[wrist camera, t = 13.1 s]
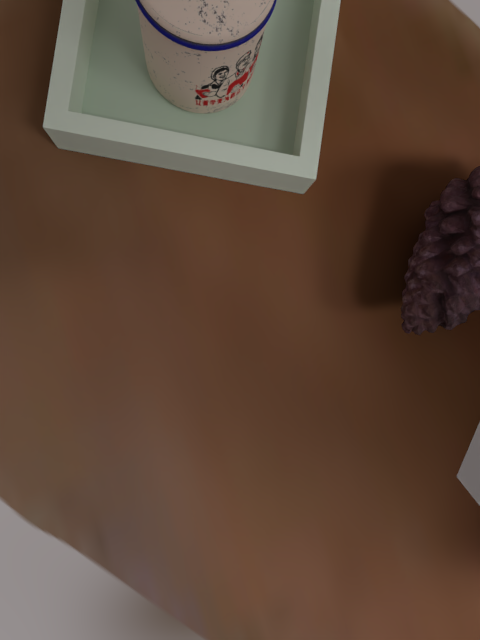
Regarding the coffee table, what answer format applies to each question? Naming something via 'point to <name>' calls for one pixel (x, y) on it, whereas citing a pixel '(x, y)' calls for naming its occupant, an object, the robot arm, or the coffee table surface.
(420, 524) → the coffee table surface
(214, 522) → the coffee table surface
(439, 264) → the pine cone
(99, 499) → the coffee table surface
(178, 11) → the teacup with lid
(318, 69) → the mint green square tray
